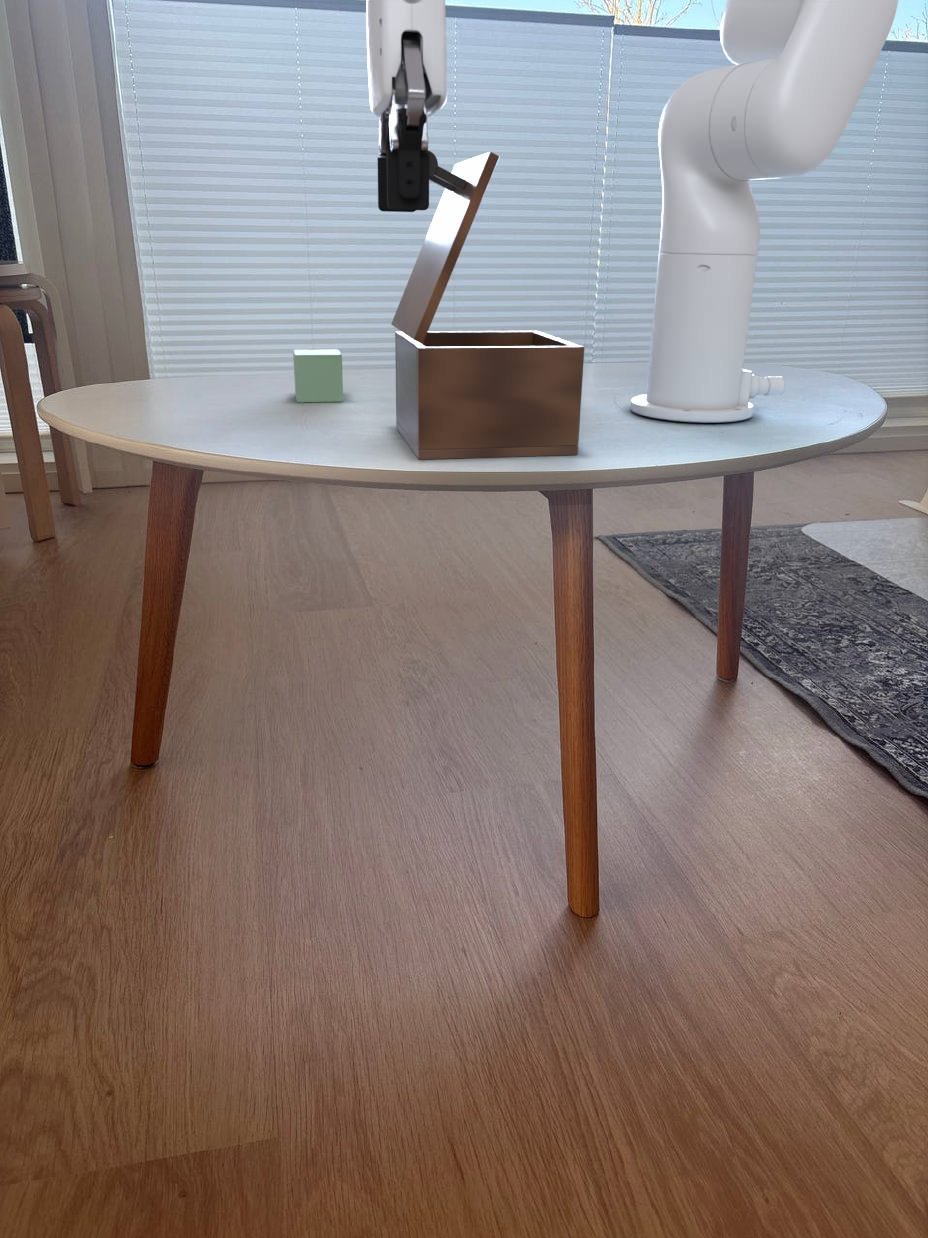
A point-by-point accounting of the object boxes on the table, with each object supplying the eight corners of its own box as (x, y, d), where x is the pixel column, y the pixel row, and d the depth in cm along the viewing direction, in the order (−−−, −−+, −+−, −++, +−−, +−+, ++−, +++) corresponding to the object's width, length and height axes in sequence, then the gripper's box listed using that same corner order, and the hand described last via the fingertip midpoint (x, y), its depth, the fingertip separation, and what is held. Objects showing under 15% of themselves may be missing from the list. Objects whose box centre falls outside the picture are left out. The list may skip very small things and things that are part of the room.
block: (339, 394, 106) (338, 349, 104) (343, 401, 102) (341, 354, 100) (295, 395, 105) (292, 349, 103) (297, 402, 101) (294, 354, 99)
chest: (534, 424, 91) (538, 330, 87) (578, 454, 78) (584, 346, 75) (396, 428, 88) (395, 331, 85) (418, 459, 76) (418, 347, 72)
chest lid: (463, 167, 81) (407, 138, 79) (499, 156, 68) (435, 121, 67) (398, 327, 85) (344, 303, 83) (422, 343, 72) (359, 315, 71)
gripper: (476, -94, 61) (470, 209, 68) (432, -28, 76) (430, 214, 83) (362, -105, 59) (367, 206, 66) (340, -35, 75) (346, 211, 82)
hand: (402, 207), depth 75 cm, fingers closed on chest lid, 5 cm apart
